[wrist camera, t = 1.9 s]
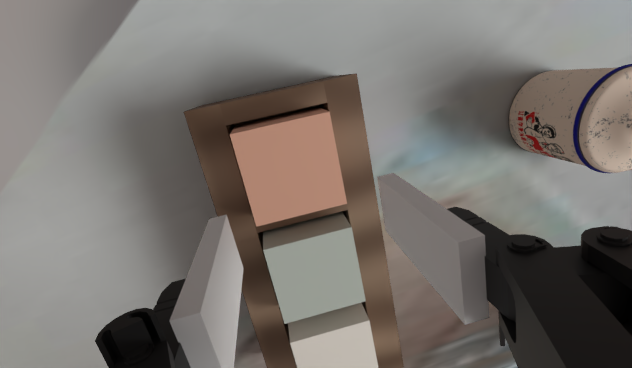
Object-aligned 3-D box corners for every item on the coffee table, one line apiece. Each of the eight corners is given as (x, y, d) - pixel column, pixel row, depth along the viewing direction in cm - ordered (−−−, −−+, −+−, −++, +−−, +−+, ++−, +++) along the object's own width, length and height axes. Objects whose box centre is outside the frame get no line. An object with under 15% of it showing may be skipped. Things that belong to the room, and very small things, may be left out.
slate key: (350, 269, 33) (365, 301, 28) (281, 288, 32) (284, 324, 28) (337, 205, 31) (351, 227, 26) (262, 224, 30) (263, 250, 25)
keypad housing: (380, 320, 41) (403, 366, 34) (276, 350, 40) (279, 404, 33) (336, 75, 32) (356, 73, 25) (200, 105, 31) (183, 111, 24)
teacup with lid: (488, 117, 36) (590, 132, 25) (551, 48, 34) (688, 32, 23) (549, 185, 39) (662, 225, 28) (608, 124, 38) (750, 141, 27)
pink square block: (333, 184, 30) (347, 203, 25) (257, 203, 30) (256, 226, 25) (318, 106, 28) (329, 111, 23) (235, 125, 27) (229, 134, 23)
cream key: (365, 341, 36) (381, 381, 31) (301, 360, 35) (307, 403, 30) (354, 286, 34) (369, 320, 29) (286, 305, 33) (290, 343, 28)
